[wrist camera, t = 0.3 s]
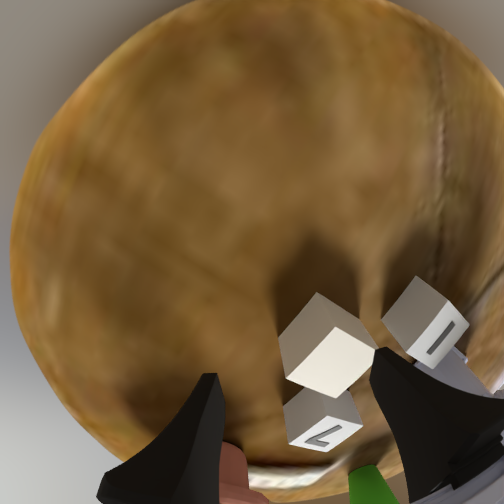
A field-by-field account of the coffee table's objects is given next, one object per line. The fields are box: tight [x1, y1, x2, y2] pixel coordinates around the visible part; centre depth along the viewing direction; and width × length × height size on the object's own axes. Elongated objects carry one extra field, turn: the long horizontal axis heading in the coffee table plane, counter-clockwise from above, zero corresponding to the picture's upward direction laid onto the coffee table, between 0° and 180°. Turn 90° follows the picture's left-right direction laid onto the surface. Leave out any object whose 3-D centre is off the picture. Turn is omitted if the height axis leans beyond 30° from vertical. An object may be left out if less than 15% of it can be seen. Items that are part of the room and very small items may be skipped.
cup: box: [348, 465, 399, 504], centre depth 27 cm, size 9×9×11 cm
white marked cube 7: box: [283, 387, 364, 452], centre depth 22 cm, size 5×5×5 cm
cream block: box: [278, 292, 379, 398], centre depth 19 cm, size 5×5×5 cm
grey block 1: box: [381, 276, 469, 369], centre depth 19 cm, size 5×5×5 cm
